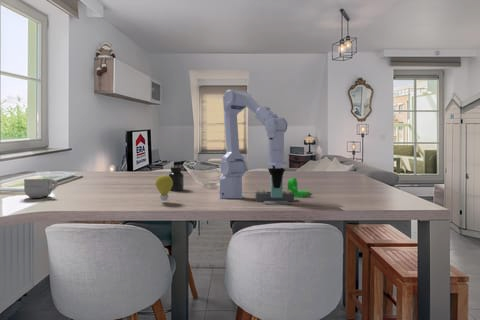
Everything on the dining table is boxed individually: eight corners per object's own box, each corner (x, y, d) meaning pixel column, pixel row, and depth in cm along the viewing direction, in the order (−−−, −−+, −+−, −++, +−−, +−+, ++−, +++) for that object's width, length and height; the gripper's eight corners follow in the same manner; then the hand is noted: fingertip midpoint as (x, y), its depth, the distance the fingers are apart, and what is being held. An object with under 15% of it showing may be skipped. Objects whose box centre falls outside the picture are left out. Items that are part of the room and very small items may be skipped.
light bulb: (158, 201, 150) (158, 175, 150) (153, 199, 156) (153, 174, 156) (175, 200, 153) (175, 175, 153) (169, 199, 159) (169, 174, 159)
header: (256, 201, 150) (256, 191, 150) (255, 199, 157) (255, 189, 157) (294, 201, 150) (294, 191, 150) (291, 199, 157) (291, 189, 157)
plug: (271, 197, 143) (270, 175, 143) (270, 196, 147) (270, 174, 147) (283, 197, 143) (283, 175, 143) (281, 196, 147) (281, 174, 147)
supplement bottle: (181, 192, 188) (181, 166, 188) (185, 193, 182) (185, 167, 182) (167, 192, 185) (166, 167, 185) (171, 194, 179) (170, 167, 179)
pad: (264, 204, 141) (264, 203, 141) (263, 201, 149) (263, 200, 149) (289, 204, 141) (289, 203, 141) (287, 201, 149) (287, 200, 149)
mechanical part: (300, 198, 163) (300, 178, 163) (287, 197, 166) (287, 178, 166) (311, 195, 173) (311, 177, 173) (299, 194, 177) (299, 177, 176)
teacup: (18, 198, 163) (17, 178, 163) (40, 195, 173) (40, 177, 173) (42, 199, 158) (42, 179, 158) (64, 196, 168) (64, 178, 168)
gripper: (289, 150, 138) (289, 189, 138) (284, 150, 152) (284, 185, 152) (269, 150, 138) (269, 189, 138) (266, 150, 152) (266, 185, 152)
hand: (276, 187), depth 145 cm, fingers closed on plug, 4 cm apart
